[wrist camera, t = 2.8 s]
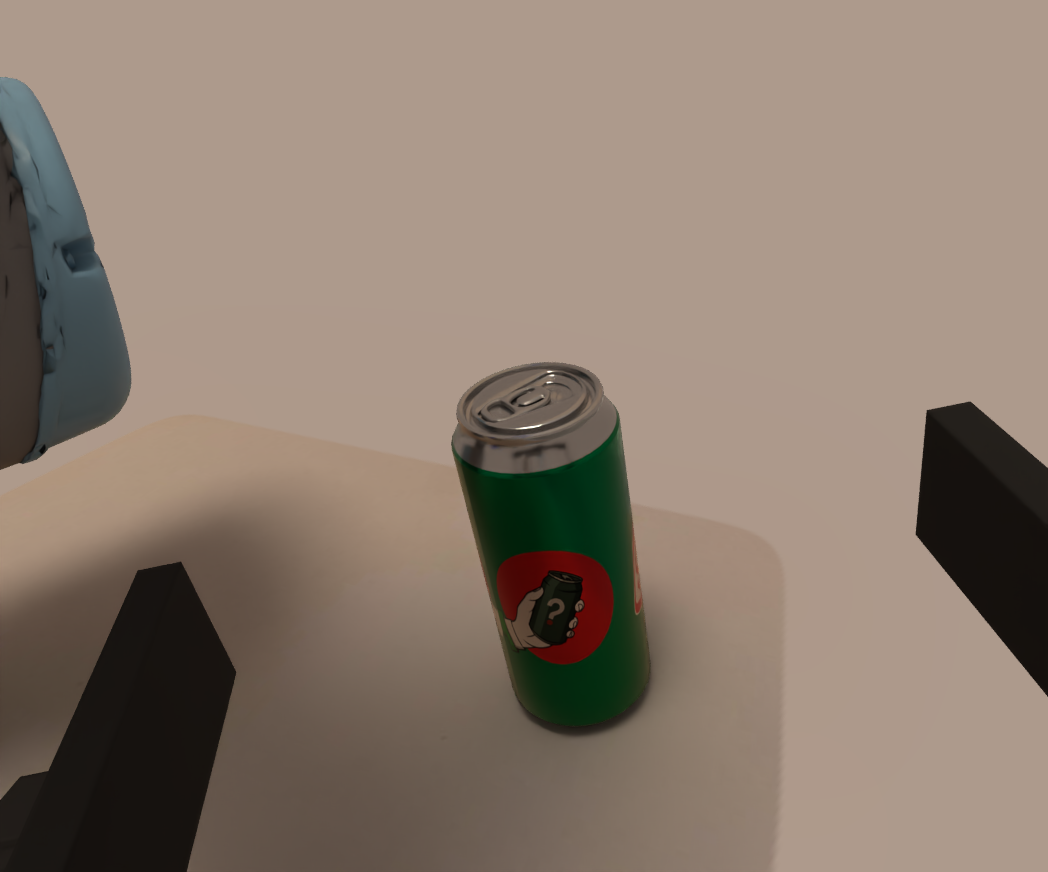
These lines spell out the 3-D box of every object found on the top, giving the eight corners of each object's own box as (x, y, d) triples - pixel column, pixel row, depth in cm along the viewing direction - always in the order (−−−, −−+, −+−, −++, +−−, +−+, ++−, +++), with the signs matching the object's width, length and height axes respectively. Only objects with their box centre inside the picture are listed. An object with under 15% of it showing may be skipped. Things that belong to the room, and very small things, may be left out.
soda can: (681, 687, 30) (652, 393, 24) (562, 763, 28) (496, 468, 22) (598, 609, 34) (554, 339, 27) (489, 672, 32) (415, 398, 26)
